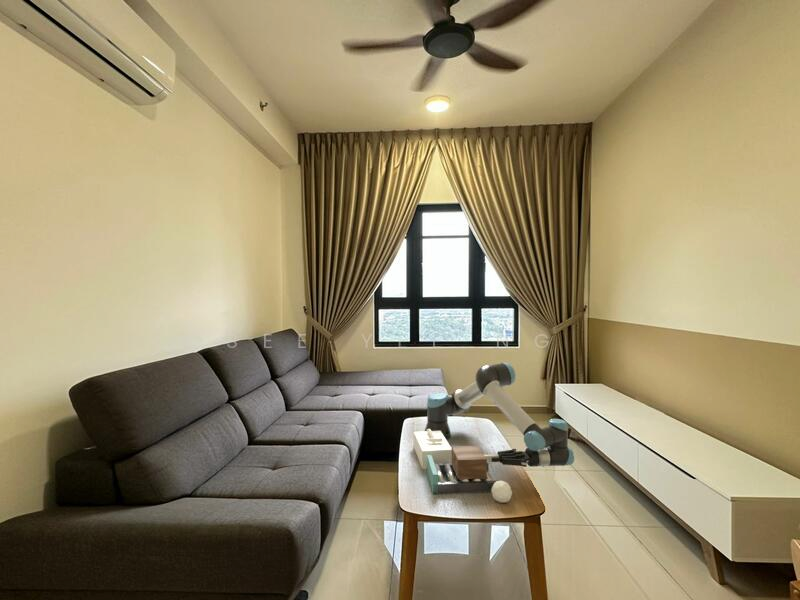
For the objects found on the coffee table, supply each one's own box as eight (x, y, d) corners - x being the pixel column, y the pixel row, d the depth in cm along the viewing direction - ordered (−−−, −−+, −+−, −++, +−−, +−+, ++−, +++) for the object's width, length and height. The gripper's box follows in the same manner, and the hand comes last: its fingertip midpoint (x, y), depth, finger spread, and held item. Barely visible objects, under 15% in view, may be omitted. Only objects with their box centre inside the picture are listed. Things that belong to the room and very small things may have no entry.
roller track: (427, 472, 167) (427, 462, 167) (487, 470, 169) (487, 460, 169) (433, 494, 149) (433, 483, 149) (500, 491, 150) (500, 480, 150)
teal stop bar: (427, 472, 167) (427, 455, 167) (431, 472, 167) (431, 454, 167) (433, 494, 149) (433, 474, 149) (438, 494, 149) (438, 474, 149)
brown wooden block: (451, 464, 165) (451, 446, 165) (477, 463, 166) (477, 445, 166) (458, 479, 152) (458, 460, 151) (486, 478, 152) (486, 459, 152)
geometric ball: (496, 507, 144) (485, 486, 148) (513, 497, 146) (502, 477, 149) (500, 507, 137) (489, 485, 141) (518, 497, 139) (507, 475, 143)
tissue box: (422, 469, 171) (422, 446, 171) (413, 448, 195) (413, 427, 195) (452, 467, 172) (452, 444, 172) (440, 446, 197) (440, 426, 197)
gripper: (543, 472, 153) (488, 474, 151) (530, 458, 166) (479, 460, 165) (543, 454, 153) (487, 456, 151) (530, 442, 166) (479, 443, 165)
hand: (483, 458), depth 158 cm, fingers closed
